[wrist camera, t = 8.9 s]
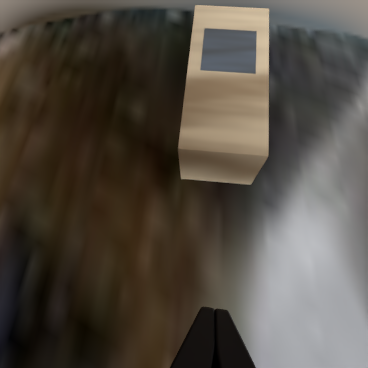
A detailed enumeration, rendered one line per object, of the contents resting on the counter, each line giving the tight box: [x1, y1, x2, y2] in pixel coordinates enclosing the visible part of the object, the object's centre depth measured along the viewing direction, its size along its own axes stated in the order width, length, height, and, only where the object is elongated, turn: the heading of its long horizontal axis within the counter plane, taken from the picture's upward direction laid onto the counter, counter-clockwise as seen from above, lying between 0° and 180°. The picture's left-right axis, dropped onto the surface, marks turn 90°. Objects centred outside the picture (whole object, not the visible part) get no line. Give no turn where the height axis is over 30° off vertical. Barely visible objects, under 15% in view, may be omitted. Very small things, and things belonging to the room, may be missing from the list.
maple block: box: [178, 5, 269, 185], centre depth 20 cm, size 5×5×11 cm
